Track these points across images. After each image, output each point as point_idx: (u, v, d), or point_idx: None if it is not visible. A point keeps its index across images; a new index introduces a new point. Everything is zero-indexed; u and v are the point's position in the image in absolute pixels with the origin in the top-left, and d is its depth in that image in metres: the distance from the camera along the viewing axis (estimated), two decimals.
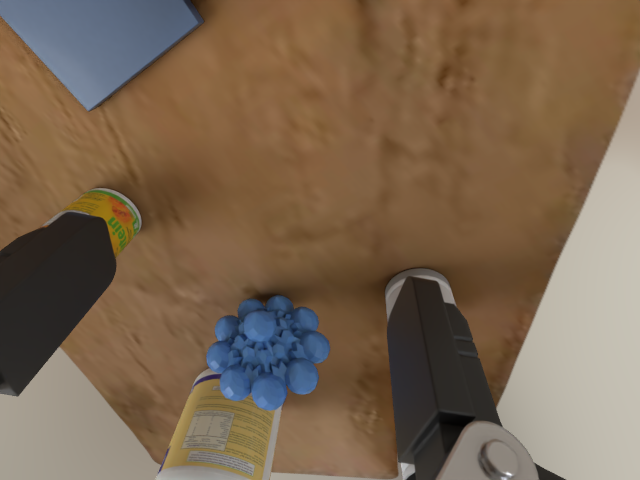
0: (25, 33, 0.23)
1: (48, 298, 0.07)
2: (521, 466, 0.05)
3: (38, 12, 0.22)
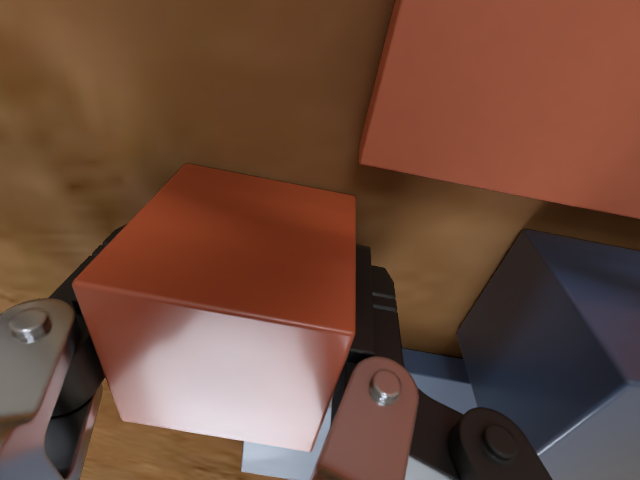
0: None
1: None
2: (404, 391, 0.06)
3: None
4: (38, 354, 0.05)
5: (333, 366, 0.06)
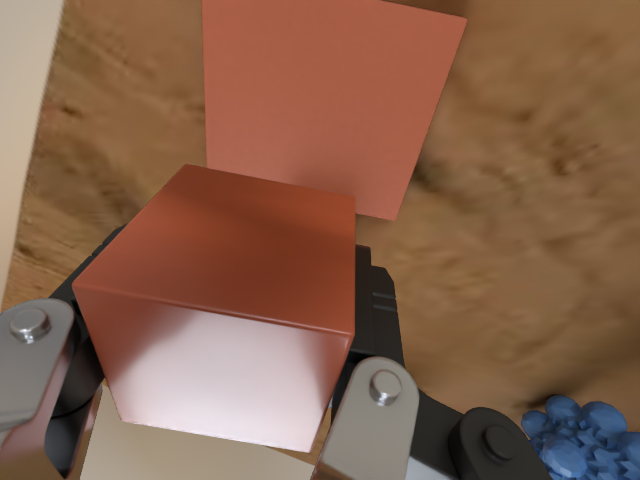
0: None
1: None
2: (404, 391, 0.06)
3: None
4: (38, 354, 0.05)
5: (332, 367, 0.06)
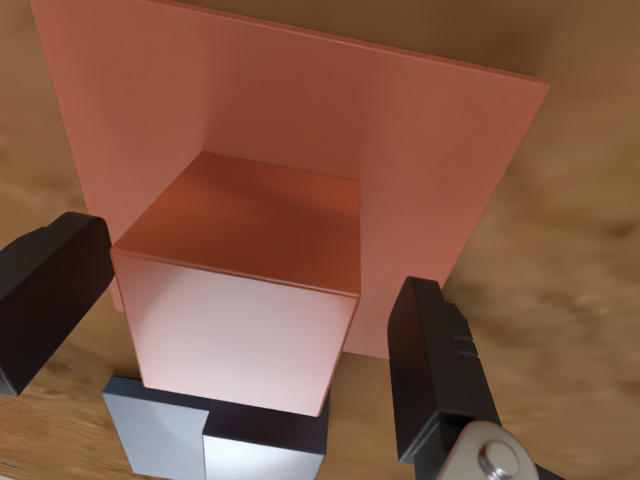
0: None
1: (48, 298, 0.07)
2: (521, 466, 0.05)
3: None
4: None
5: (340, 328, 0.07)
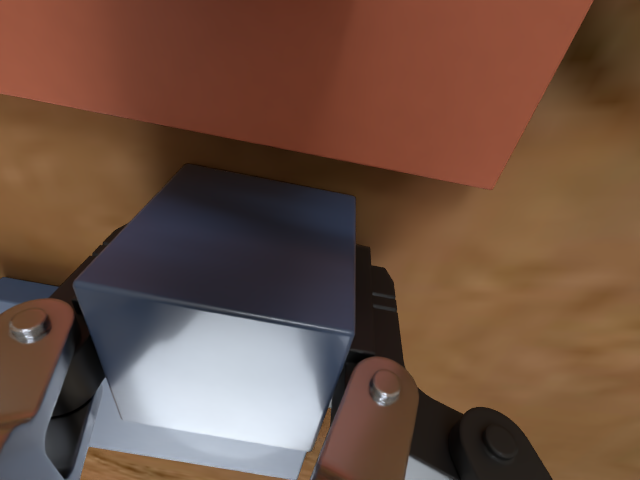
0: (194, 460, 0.18)
1: None
2: (404, 391, 0.06)
3: (188, 443, 0.17)
4: (38, 354, 0.05)
5: None
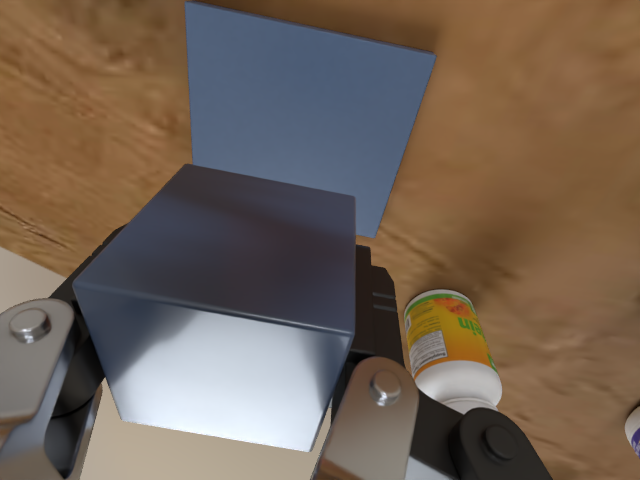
0: None
1: None
2: (404, 391, 0.06)
3: None
4: (38, 354, 0.05)
5: None
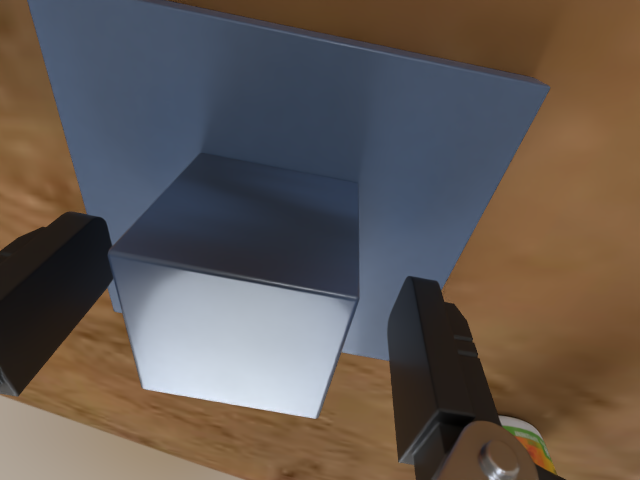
0: None
1: (48, 298, 0.07)
2: (521, 466, 0.05)
3: None
4: None
5: None
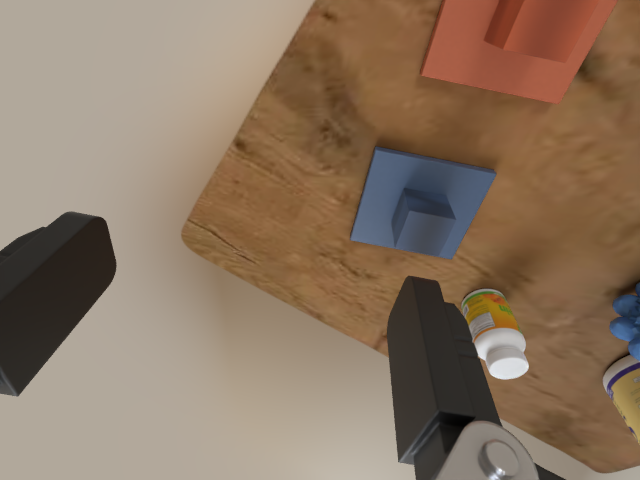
0: None
1: (48, 298, 0.07)
2: (521, 466, 0.05)
3: None
4: None
5: (596, 0, 0.22)
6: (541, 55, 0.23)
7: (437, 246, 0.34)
